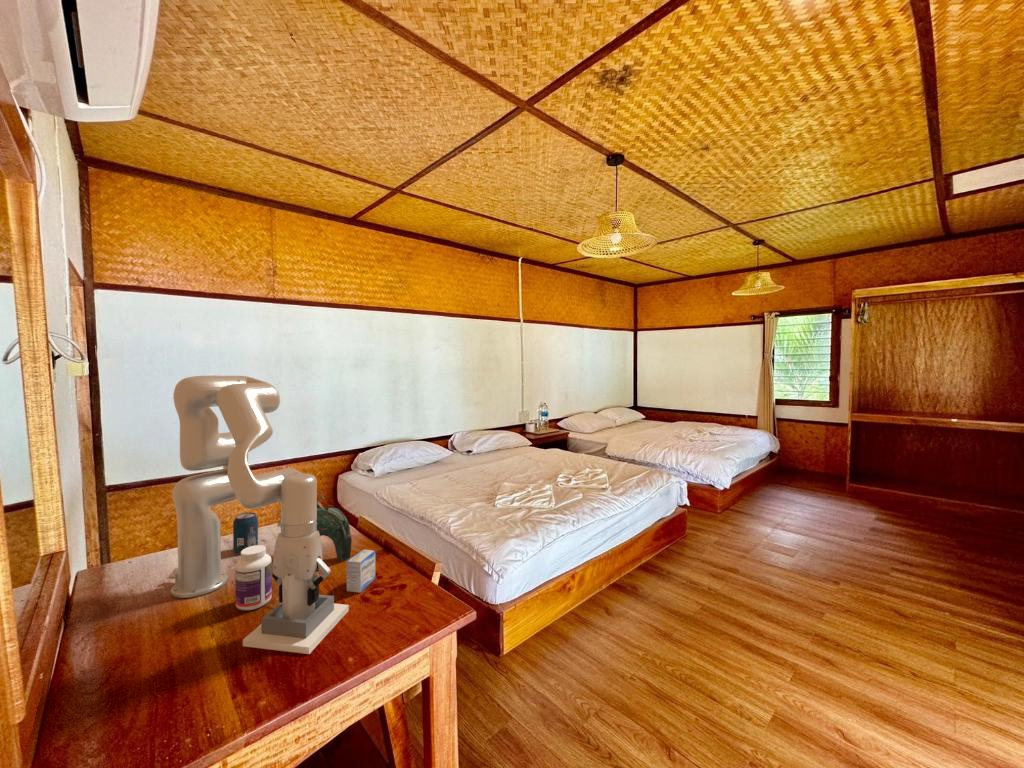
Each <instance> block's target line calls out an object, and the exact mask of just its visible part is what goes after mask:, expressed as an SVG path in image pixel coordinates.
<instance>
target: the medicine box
mask: <svg viewBox="0 0 1024 768" xmlns="http://www.w3.org/2000/svg"><path fill="white" fill-rule="evenodd" d="M375 579H376V551H375V550H371V549H362V550H360V551H359V552H358V553H356V554H355V555H353V556H352V557H350V558H349V559H347V560H346V591H347V592H351V593H352V592H353V593H360V594H361V593H362V592H363V591H364V590H365V589H366V588H367V587H369V585H370V584H371V583H373V581H374V580H375Z"/></svg>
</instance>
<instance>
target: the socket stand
mask: <svg viewBox="0 0 1024 768" xmlns="http://www.w3.org/2000/svg"><path fill="white" fill-rule="evenodd" d="M349 610H350V605H349V604H345V603H344V604H342V603H335V596H334V595H327V594H319V597H318V599H317V600H316V601H315V611H314V612H313V613H312V614H311V615H310V616H309V617H308V618H306V619H304V620H299V619H290V618H283V602H282V603H280V602H279V604H278V605H276V606H275V607H274V608H272V609H271V610H270V611H268V612H267V613H266V614H264V616H262V617H261V619H260V620H261V622H260V625H258V626H257V627H256V628H255V629H254V630H252V631H251V632H250V633H249V634H248V635H246V636H245V637H243V638H242V647H245V648H254V649H255V648H256V649H263V650H272V651H280V652H286V653H287V652H288V653H297V654H306V655H310V654H311V653H312V652H313V651H314V650H315V648H316V647H317V646H318V645H319V644H320V643H321V642H322V641H323V640H324V638H325V637H326V636H327V635H328V634H329V633H330V632H331V631H332V630H333V629H334V628H335V627H336V625H337V624H338V623H339V622H340V621H341V620H342V619H343V618H344V617H345V616H346V614H347V613H348V612H349Z"/></svg>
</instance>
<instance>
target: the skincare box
mask: <svg viewBox="0 0 1024 768" xmlns="http://www.w3.org/2000/svg"><path fill="white" fill-rule="evenodd" d="M313 580H314V577H313ZM314 581H315V580H314ZM309 588H310V586H309V584H308V582H307V580H299V579H294V575H292V574H286V578H282V601H283V618H290V619H299V620H304V619H306V618H308V617H309V616H310V615H311V614H312V613H313V612H314V611H315V602H314V603H313V604H312V605H311V606H308V605H307V591H308V589H309Z"/></svg>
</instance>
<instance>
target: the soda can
mask: <svg viewBox="0 0 1024 768" xmlns="http://www.w3.org/2000/svg"><path fill="white" fill-rule="evenodd" d="M232 525H233V526H232V528H233V529H232V530H233V531H232V532H233V533H232V541H233V542H232V543H233V545H232V547H233V548H232V549H233V551H234V553H235V554H236V555H241V551H242V550H243V549H245V548H247V547H250V546H255V545H259V519H258V516H257V514H256V512H244V513H240V514H239V513H238V514H237V515H236V516H235V518H234V520H233V522H232Z"/></svg>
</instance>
